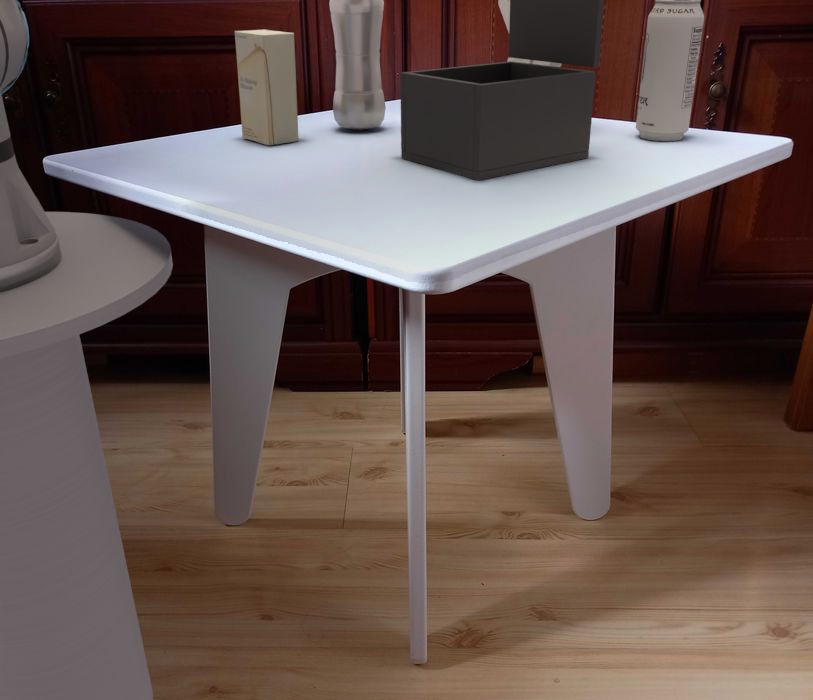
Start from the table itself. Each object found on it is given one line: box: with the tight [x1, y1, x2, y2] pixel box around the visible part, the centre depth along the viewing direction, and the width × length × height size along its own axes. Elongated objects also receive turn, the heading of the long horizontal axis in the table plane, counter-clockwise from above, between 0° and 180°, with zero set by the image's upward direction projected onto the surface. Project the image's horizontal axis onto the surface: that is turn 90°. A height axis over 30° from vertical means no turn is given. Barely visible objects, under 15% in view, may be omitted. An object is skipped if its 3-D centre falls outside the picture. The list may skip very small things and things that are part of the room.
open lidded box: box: [399, 61, 597, 181], centre depth 84 cm, size 16×13×9 cm
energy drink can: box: [635, 0, 705, 142], centre depth 92 cm, size 6×6×15 cm
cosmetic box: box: [234, 29, 299, 146], centre depth 94 cm, size 6×4×12 cm
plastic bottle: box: [328, 0, 387, 131], centre depth 98 cm, size 6×7×20 cm
